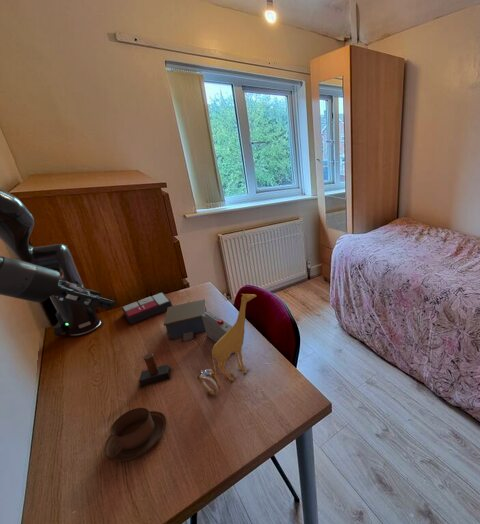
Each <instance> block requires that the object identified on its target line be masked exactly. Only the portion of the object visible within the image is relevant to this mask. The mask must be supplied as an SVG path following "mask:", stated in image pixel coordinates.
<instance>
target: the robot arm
mask: <svg viewBox="0 0 480 524" xmlns="http://www.w3.org/2000/svg"><path fill="white" fill-rule="evenodd" d="M34 227H35V217H34V216H33V214H32V213H31V212H30V210H29V209H28V207H26V205H25V204H24V203H23V202H22V200H20V199H19V198H18V197H17V196H15V195H14V194H12V193H10V192H8V191H6V190H4V189H2V188H0V240H1V242H3V243H4V244H5V245H6V246H7V247H8V249H10V251H11V252H12V254H14V256H16V258H17V259H16V258H12V257H7V256H2V255H0V296H5V297H10V298H15V299H18V300H19V299H20V300H23V301H29V302H34V303H43V302H45V301H47V300H48V299H50V301H51V303H52V305H53V306H54V308H55V310H56V313H55V316H56V319H57V321H58V322H57V323H56V324H55V325H54V327H53V334H54V335H55V336H56V337H59V338H62V336H63V334H65V336H66V337H79V336H80V337H81V336H84V335H88V334H89V333H92V332H94V331H96V330H97V329H98V328H99V327H101V325H102V321H101V320H100V318H99V316H98V313H97V311H96V309H95V308H96V307H97V308H101V309H105V310H113V308H114V306H115V304H116V301H114V300H111V299H108V298H104V297H101V295H102V293H101V292H99V291H95V290H92V289H89V288H86V287H85V285H84V283H83V280H82V278H81V276H80V273H79V270H78V268H77V266H76V263H75V261H74V258H73V255H72V252H71V251H70V249H69V248H68V246H67V245H66V244H64V243H55V244H54V243H53V244H48V245H47V244H46V245H40V246H32V245H31V243H30V238H31V236H32V233H33V231H34ZM60 272H61V273H62V274H60Z"/></svg>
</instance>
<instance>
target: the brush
mask: <svg viewBox="0 0 480 524" xmlns="http://www.w3.org/2000/svg"><path fill="white" fill-rule="evenodd" d="M143 361H144V363H145V365H146V368H147V369H145V370H142V371H141V373H140V375H139V379H138V382H139V385H140V387H141V388H145V387H148V386H151V385H154V384H157V383H162V382H164V381H168V380H170V379H171V373H172V369H171V366H170V363H166V364H163V365H159V366H158V365H157V362H156V359H155V357H154V355H153V353H147V354H145V355H144V356H143Z"/></svg>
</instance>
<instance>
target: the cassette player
mask: <svg viewBox="0 0 480 524" xmlns="http://www.w3.org/2000/svg"><path fill="white" fill-rule="evenodd" d="M201 316H202V320H203V323H204V327H205V331H204V332H205V334H206V337H207V338H209V339H210V340H211V341H213V342H214V343H215V344H216V343H217V342H218V340H219V339H220V338H221V337H222V336H223V335H225V334H226V333H227V332H228V331H229V330H230V329H231V328H232V327H233V326H234V325H231V324H229V323H228V322H227V321H225V320H223V319H221V318H220V317H218V316H217V315H215V314H214V313H212V312H210V311H208V310H207V312H205V314H202V315H201ZM233 354H235V351H234V352H232V353H231V354H230V355H233Z"/></svg>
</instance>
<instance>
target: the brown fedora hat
mask: <svg viewBox="0 0 480 524" xmlns="http://www.w3.org/2000/svg"><path fill="white" fill-rule="evenodd" d="M166 428H167V418H166V416H165V414H164V413H162V412H160V411H155V410H150V411H149V409H147V408H146V407H136V408H133V409H130V410H127V411H126V412H124V413H123V414H121V415H120V416H119V417H117V419H116V420H115V421H114V422H113V423H112V425H111V427H110V430H109V431H110V435H109V437H108V438H107V439H106V441H105V443H104V447H103V453H104V456H105V458H107V459H108V460H110V461H112V462H115V463H118V462H120V463H121V462H127V461H130V460H133V459H135V458H137V457H139V456H141V455H143V454H144V453H146V452H147V451H149V450H150V449H151V448H152V447H154V446H155V444H156V443H158V441H159V440H160V439H161V438H162V436H163V434H164V433H165V430H166Z"/></svg>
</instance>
